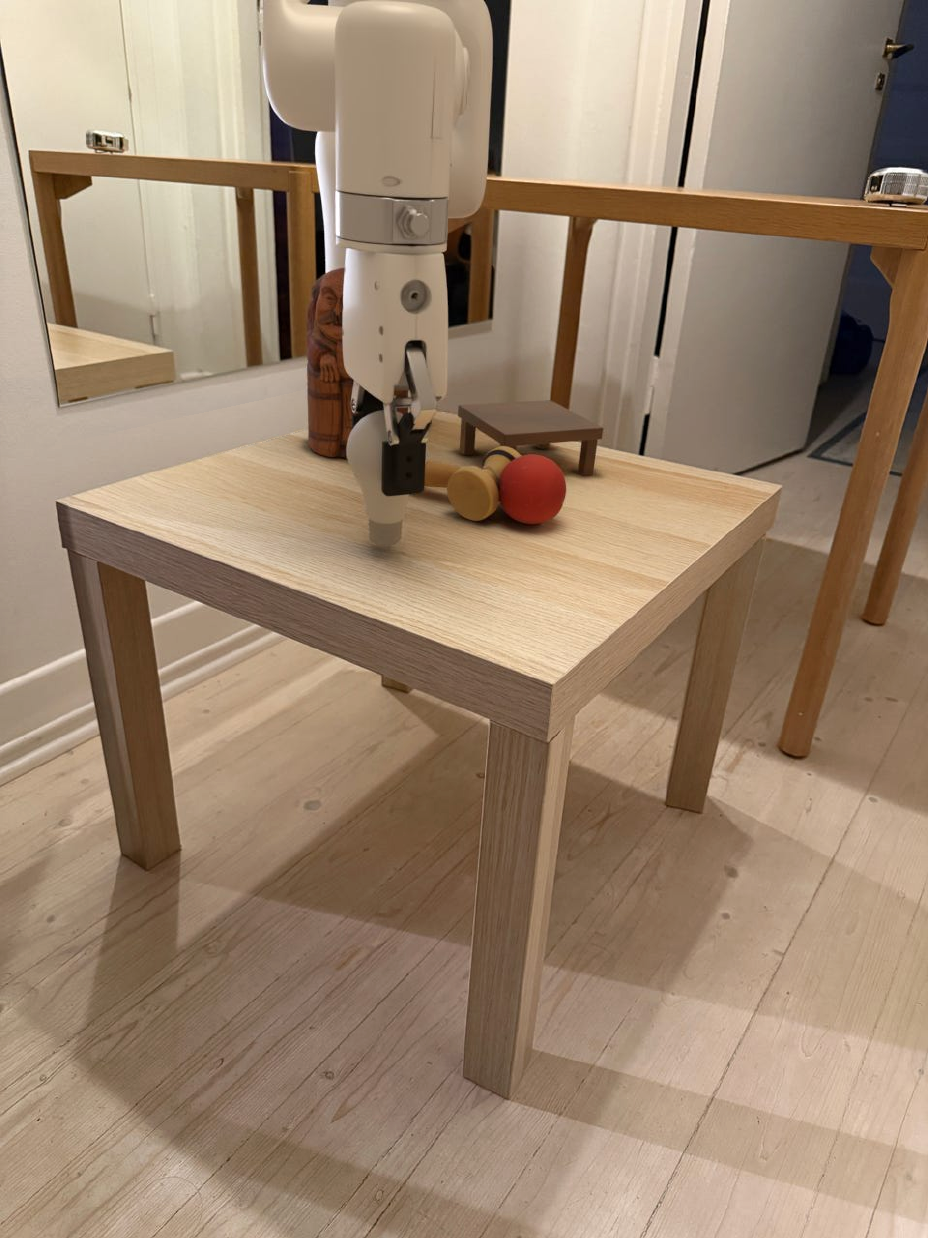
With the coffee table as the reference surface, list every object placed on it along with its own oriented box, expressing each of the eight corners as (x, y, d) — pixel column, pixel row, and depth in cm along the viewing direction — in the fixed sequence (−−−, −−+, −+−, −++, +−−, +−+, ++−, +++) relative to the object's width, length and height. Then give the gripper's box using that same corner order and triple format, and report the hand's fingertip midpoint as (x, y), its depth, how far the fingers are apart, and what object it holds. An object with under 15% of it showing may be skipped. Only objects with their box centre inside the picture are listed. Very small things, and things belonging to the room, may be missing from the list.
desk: (455, 451, 97) (458, 404, 95) (545, 444, 102) (550, 399, 99) (501, 484, 88) (505, 434, 86) (597, 475, 93) (603, 427, 90)
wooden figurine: (289, 452, 94) (283, 266, 85) (314, 436, 99) (311, 260, 91) (398, 468, 91) (403, 278, 83) (417, 450, 97) (424, 271, 88)
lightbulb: (399, 527, 76) (403, 397, 71) (437, 555, 72) (444, 418, 67) (333, 539, 73) (332, 404, 68) (368, 569, 69) (370, 427, 63)
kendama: (364, 510, 84) (539, 532, 75) (365, 440, 82) (543, 454, 73) (412, 503, 90) (578, 522, 81) (414, 438, 89) (583, 450, 80)
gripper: (498, 241, 56) (478, 514, 64) (398, 211, 69) (393, 440, 78) (382, 239, 53) (378, 525, 61) (302, 209, 66) (308, 446, 75)
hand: (386, 475), depth 70 cm, fingers closed on lightbulb, 6 cm apart
